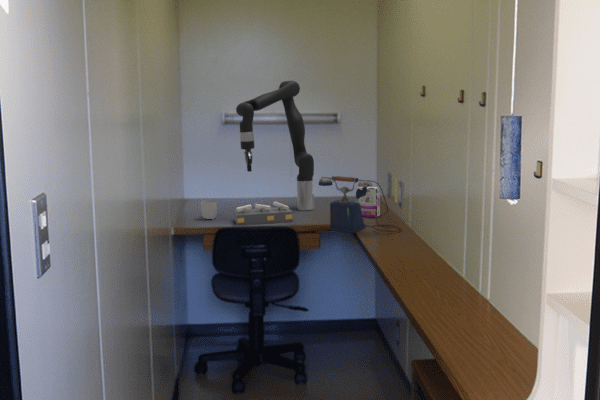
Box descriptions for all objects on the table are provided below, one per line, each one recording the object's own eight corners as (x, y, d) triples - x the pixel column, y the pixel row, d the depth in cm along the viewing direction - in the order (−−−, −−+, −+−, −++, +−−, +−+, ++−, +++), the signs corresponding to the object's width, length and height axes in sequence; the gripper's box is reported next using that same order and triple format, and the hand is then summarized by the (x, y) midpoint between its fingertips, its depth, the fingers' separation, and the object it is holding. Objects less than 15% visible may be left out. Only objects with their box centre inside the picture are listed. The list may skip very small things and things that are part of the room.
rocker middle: (269, 208, 348) (269, 205, 348) (270, 209, 345) (270, 207, 344) (254, 206, 347) (255, 203, 346) (255, 207, 343) (256, 205, 342)
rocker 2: (286, 208, 351) (287, 205, 350) (287, 210, 347) (288, 207, 347) (273, 203, 349) (274, 201, 348) (274, 205, 345) (275, 202, 345)
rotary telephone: (406, 228, 322) (407, 175, 317) (388, 237, 304) (388, 181, 299) (336, 220, 343) (335, 170, 338) (315, 229, 325) (314, 176, 320)
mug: (219, 219, 353) (218, 201, 351) (203, 221, 350) (202, 203, 348) (214, 215, 365) (213, 198, 363) (199, 216, 362) (198, 199, 360)
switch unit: (287, 216, 357) (287, 202, 355) (292, 221, 343) (292, 207, 342) (234, 220, 351) (233, 205, 349) (237, 225, 337) (236, 210, 335)
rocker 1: (251, 207, 346) (250, 204, 346) (252, 208, 342) (251, 205, 342) (236, 210, 345) (236, 207, 344) (237, 211, 341) (237, 209, 341)
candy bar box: (380, 216, 351) (380, 186, 348) (377, 218, 346) (377, 188, 343) (361, 214, 356) (361, 185, 353) (358, 216, 352) (357, 187, 349)
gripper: (255, 140, 342) (258, 172, 345) (251, 138, 355) (254, 169, 358) (242, 141, 340) (244, 173, 344) (238, 139, 353) (240, 170, 356)
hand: (249, 171), depth 351 cm, fingers closed
